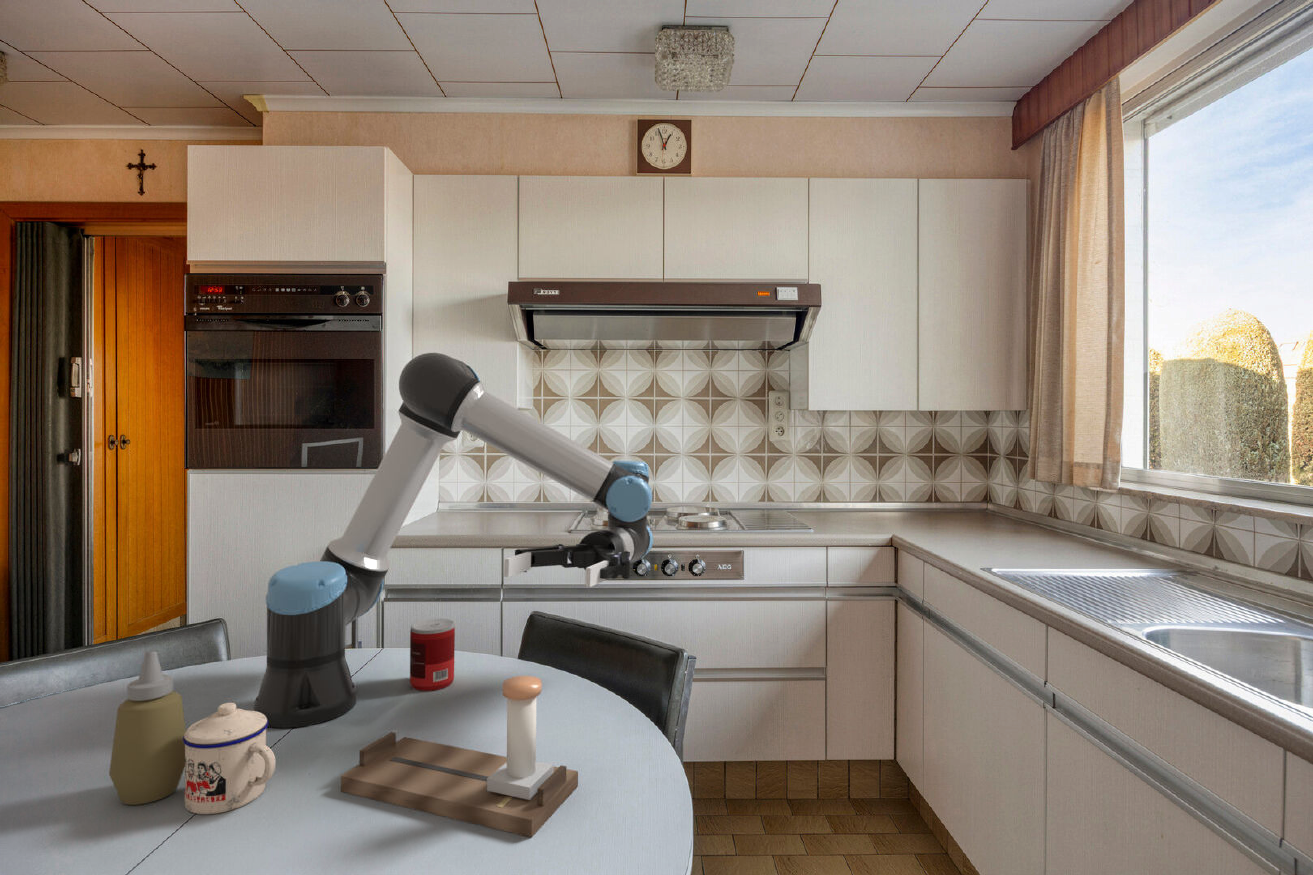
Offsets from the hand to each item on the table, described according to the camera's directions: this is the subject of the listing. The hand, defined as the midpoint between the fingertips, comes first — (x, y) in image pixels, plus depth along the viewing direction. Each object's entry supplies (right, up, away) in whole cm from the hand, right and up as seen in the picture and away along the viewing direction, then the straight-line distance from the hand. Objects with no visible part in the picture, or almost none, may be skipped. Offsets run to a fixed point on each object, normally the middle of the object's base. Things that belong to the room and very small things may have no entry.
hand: (546, 572), depth 99 cm
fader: (-1, -24, -14) cm, 28 cm away
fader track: (-9, -26, -11) cm, 30 cm away
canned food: (-25, -26, +25) cm, 44 cm away
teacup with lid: (-37, -26, -14) cm, 47 cm away
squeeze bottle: (-48, -26, -14) cm, 56 cm away
